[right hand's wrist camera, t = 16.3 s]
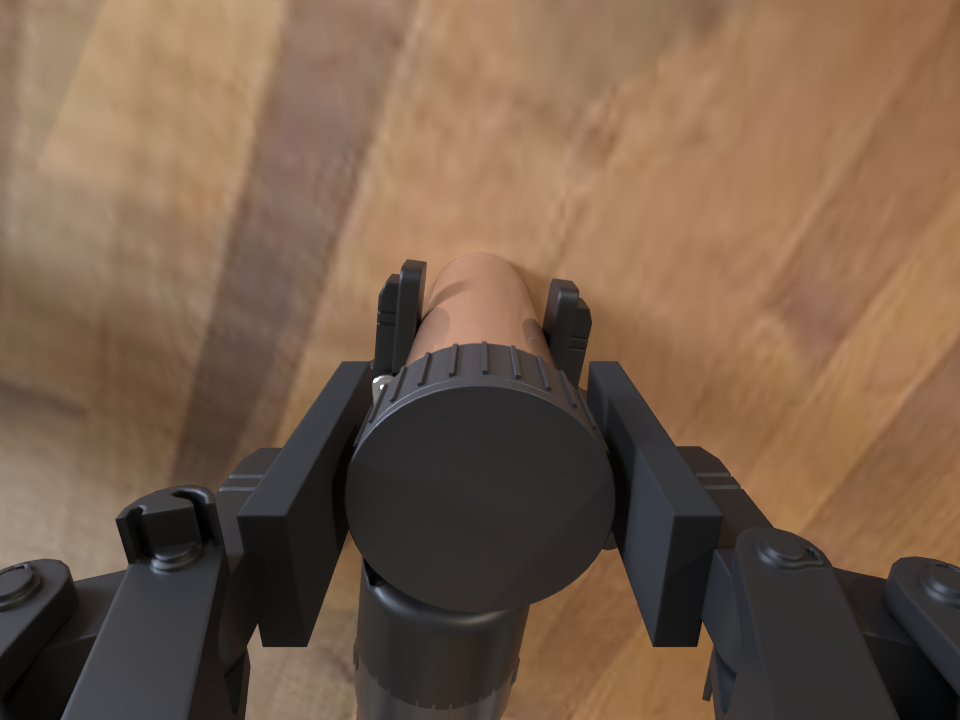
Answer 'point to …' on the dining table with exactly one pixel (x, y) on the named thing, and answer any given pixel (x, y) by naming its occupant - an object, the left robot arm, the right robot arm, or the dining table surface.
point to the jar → (480, 309)
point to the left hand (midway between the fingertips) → (491, 276)
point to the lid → (480, 480)
